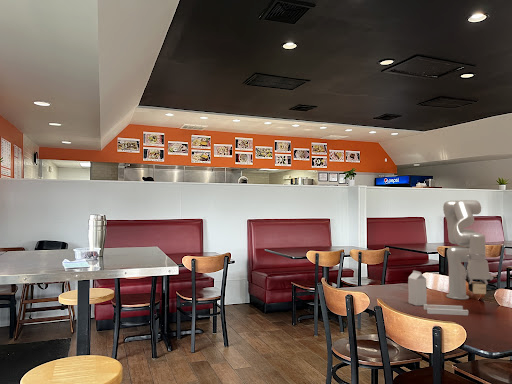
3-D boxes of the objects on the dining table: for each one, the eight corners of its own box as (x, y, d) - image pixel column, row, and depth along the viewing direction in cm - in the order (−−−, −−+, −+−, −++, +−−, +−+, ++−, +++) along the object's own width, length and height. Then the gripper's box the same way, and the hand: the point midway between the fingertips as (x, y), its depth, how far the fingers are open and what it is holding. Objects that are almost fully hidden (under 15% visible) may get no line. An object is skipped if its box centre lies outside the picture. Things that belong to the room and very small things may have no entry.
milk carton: (416, 306, 236) (415, 272, 236) (408, 303, 242) (408, 270, 243) (426, 305, 237) (426, 271, 238) (418, 302, 244) (418, 270, 245)
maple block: (469, 291, 223) (469, 281, 223) (481, 291, 222) (481, 282, 222) (473, 293, 217) (473, 284, 217) (486, 294, 216) (486, 284, 216)
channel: (423, 308, 229) (423, 304, 229) (462, 310, 225) (462, 305, 225) (427, 313, 219) (427, 308, 219) (468, 315, 216) (468, 310, 216)
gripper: (462, 258, 218) (462, 292, 218) (497, 258, 215) (498, 293, 215) (457, 256, 225) (458, 289, 225) (492, 256, 222) (492, 290, 222)
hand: (477, 290), depth 220 cm, fingers closed on maple block, 6 cm apart
